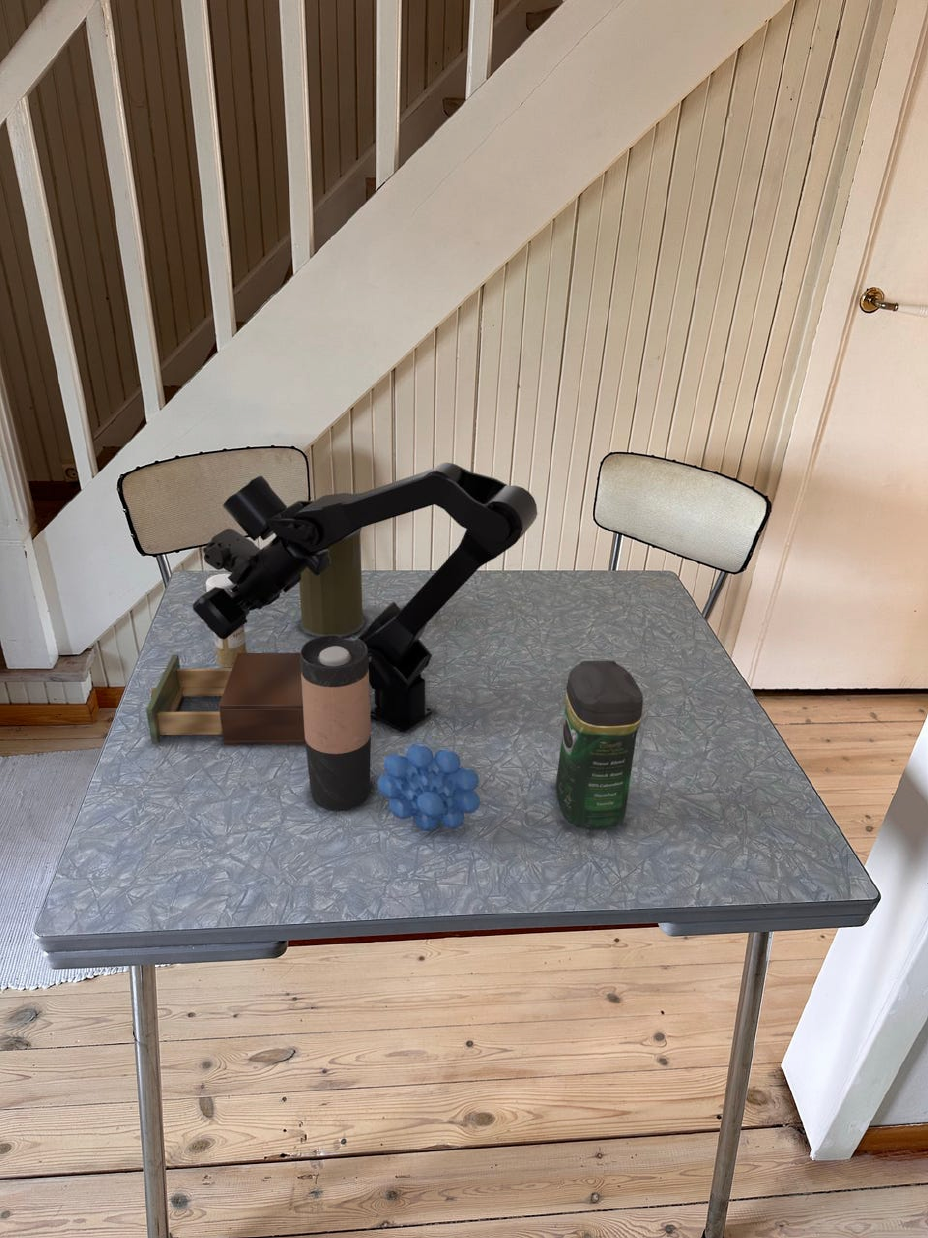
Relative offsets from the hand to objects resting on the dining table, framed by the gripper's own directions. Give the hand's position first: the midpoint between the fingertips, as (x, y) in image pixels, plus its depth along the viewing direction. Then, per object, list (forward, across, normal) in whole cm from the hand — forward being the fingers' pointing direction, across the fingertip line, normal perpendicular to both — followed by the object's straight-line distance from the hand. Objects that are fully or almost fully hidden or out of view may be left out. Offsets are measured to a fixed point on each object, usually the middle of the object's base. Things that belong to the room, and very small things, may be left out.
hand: (219, 620), depth 121 cm
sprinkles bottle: (+4, 0, +6) cm, 7 cm away
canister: (+1, -20, +11) cm, 23 cm away
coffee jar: (-34, +8, +47) cm, 59 cm away
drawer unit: (-3, +7, +15) cm, 17 cm away
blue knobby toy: (-23, +20, +36) cm, 47 cm away
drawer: (+3, +11, +9) cm, 14 cm away
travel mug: (-14, +18, +27) cm, 35 cm away
